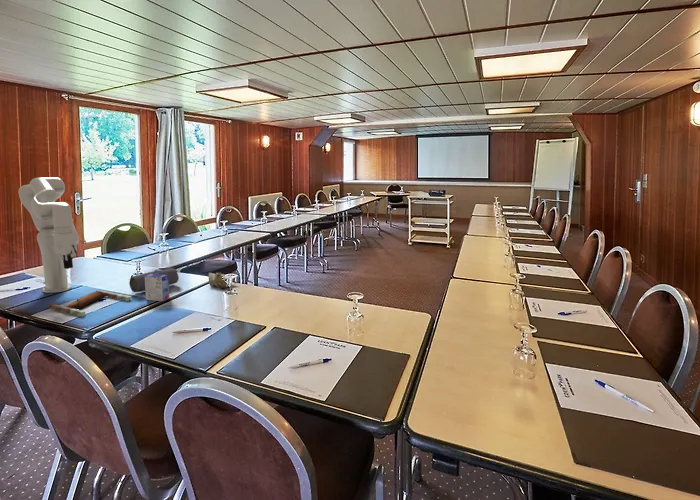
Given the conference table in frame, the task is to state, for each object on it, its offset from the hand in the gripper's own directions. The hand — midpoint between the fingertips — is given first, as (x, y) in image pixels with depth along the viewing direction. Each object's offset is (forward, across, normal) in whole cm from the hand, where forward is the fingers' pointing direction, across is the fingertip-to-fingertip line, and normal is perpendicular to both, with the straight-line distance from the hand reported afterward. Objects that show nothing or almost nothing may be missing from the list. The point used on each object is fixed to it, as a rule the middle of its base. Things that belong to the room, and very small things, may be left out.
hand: (68, 268), depth 198 cm
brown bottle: (+17, +9, 0) cm, 19 cm away
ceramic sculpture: (+17, +47, +51) cm, 71 cm away
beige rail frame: (+16, +13, 0) cm, 21 cm away
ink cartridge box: (+17, +35, +20) cm, 43 cm away
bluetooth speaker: (+17, +21, +31) cm, 40 cm away
